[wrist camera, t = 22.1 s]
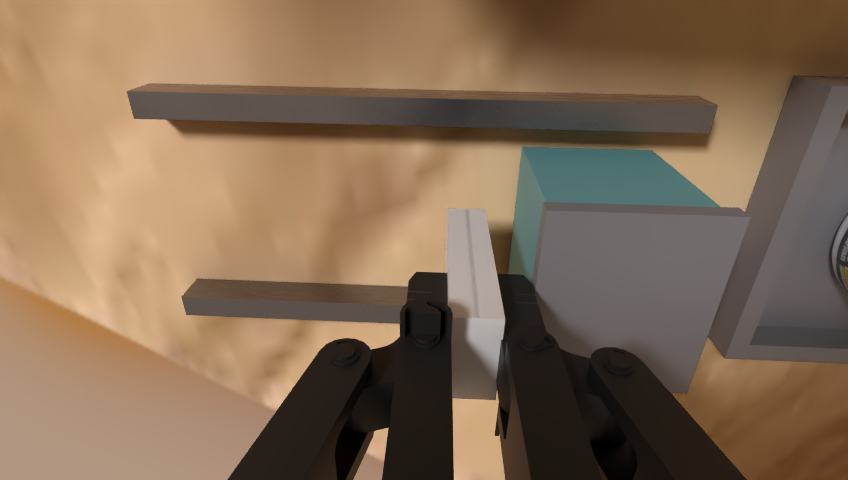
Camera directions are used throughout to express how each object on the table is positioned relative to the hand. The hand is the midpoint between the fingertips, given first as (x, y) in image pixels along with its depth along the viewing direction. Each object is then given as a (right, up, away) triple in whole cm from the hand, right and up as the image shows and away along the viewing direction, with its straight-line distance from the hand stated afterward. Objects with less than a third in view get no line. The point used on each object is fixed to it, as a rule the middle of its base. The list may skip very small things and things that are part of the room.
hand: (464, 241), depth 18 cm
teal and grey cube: (+5, +1, +2) cm, 5 cm away
